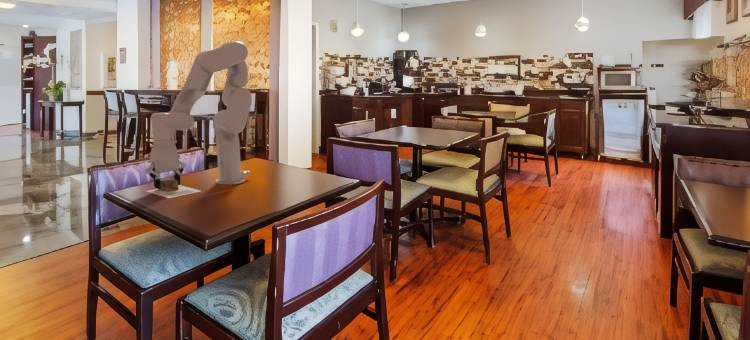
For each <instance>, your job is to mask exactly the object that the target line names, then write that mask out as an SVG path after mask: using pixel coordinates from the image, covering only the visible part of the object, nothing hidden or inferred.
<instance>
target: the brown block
mask: <svg viewBox="0 0 750 340" xmlns="http://www.w3.org/2000/svg"><path fill="white" fill-rule="evenodd" d="M159 179H160V186H161V188H160V189H159V190H163V191H166V192H170V191H175V190H179V189H178V180H175V179H174V178H170V177H164V178H159Z"/></svg>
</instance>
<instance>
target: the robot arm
mask: <svg viewBox="0 0 750 340" xmlns="http://www.w3.org/2000/svg"><path fill="white" fill-rule="evenodd" d="M248 55H249V50H248V47H247V46H246V45H245V44H244V43H243V42H241V41H238V40H237V41H235V40H234V41H229V42H225V43H223V44H221V46H220V47H217V48H214V49H211V50H205V51H201V52H199V53H198V54H197V55H196V57H195V59H194V61H193V63H192V66H191V68H190V70H189V73H188V75H187V78H186V80H185V82H184V84H183V85H182V87H181V89H180V91H179V93H178V94H177V96H176V98H175V100H174V102H173V104H172V106H171V107H170V108H171V109H170V112H154V113H152V114H151V116H150V121H151V129H152V130H151V131H152V144H153V147H151V150H150V165H149V166H147V168H145V170H144V172H145V173H146V174H147V175H148V176H149V177H150V178H152V179H153V185H154V188H155V189H160V188H161V186H160V179H161V178H160V176H161V174H162V173H168V172H173V173H174V175H173V179H175V180H178V185H181V176H182V173H183V172H184V169H185V168H186V166H187V164H186V163H184V162H182V161H181V160H180V156H179V152H178V149H177V146H176V145H175V144H177V143H178V140H177V139H175V137H174V131H188V130H191V128H193V127H194V124H195V119H194V117H193V116H192V114H191V111H192V109H193V107H194V105H196V103H197V102H198V100H200V99H201V98H203V97H204V95H205V94H206V92H207V90H208V88H209V85H210V83H211V80H212V78H213V75H214V73H217V72H221V71H223V70H226V69H227V74H226V79H225V84H224V86H223V91H222V94H221V101H222V103H223V104H224V106H226V108H225V109H221V110H220V111H218V112H217V113H215V115H214V117H213V121H212V122H213V130H214V135H215V142H216V155H217V156H216V157H217V169H218V171H217V172H218V178H216V179H215V180H214V182H215V184H218V185H227V186H233V185H239V184H243V183H245V182H246V178H245V177H246V176H249V175H251V171H250V170H245V171H244V170H242V163H241V148H240V145H241V144H240V137H239V134H240V133H241V132H243V130H244V129H245V127H246V125H247V122H248V117H249V115H250V111H251V105H252V101H253V100H252V94H251V91H250V90H249V89H248V88H247V82H248V78H249V69H248V65H247V63H246V61H245V60H247V58H248Z"/></svg>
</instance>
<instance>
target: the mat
mask: <svg viewBox="0 0 750 340" xmlns="http://www.w3.org/2000/svg"><path fill="white" fill-rule="evenodd" d="M178 189H179V190H175V191H170V192H166V191H163V190H159V189H157V188H155V189H149V190H146V192H147V193H150V194H154V195H156V196H159V197H164V198H166V199H172V198H175V197H177V198H178V197H181V196H185V195H186V196H187V195H190V194H195V193H200V192H202V190H199V189H197V188H193V187H188V186H185V185H182V184H180V185H178Z"/></svg>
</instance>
